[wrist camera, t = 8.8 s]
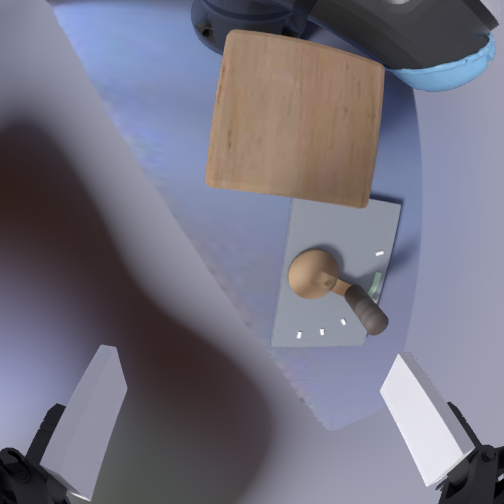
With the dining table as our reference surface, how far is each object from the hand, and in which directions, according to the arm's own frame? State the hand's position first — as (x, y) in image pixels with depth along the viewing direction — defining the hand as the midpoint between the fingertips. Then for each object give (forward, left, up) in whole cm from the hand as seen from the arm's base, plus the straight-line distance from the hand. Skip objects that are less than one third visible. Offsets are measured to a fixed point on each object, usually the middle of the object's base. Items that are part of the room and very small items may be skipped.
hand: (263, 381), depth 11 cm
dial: (+6, +13, -25) cm, 29 cm away
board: (+6, +14, -27) cm, 30 cm away
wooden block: (-12, +2, -27) cm, 29 cm away
